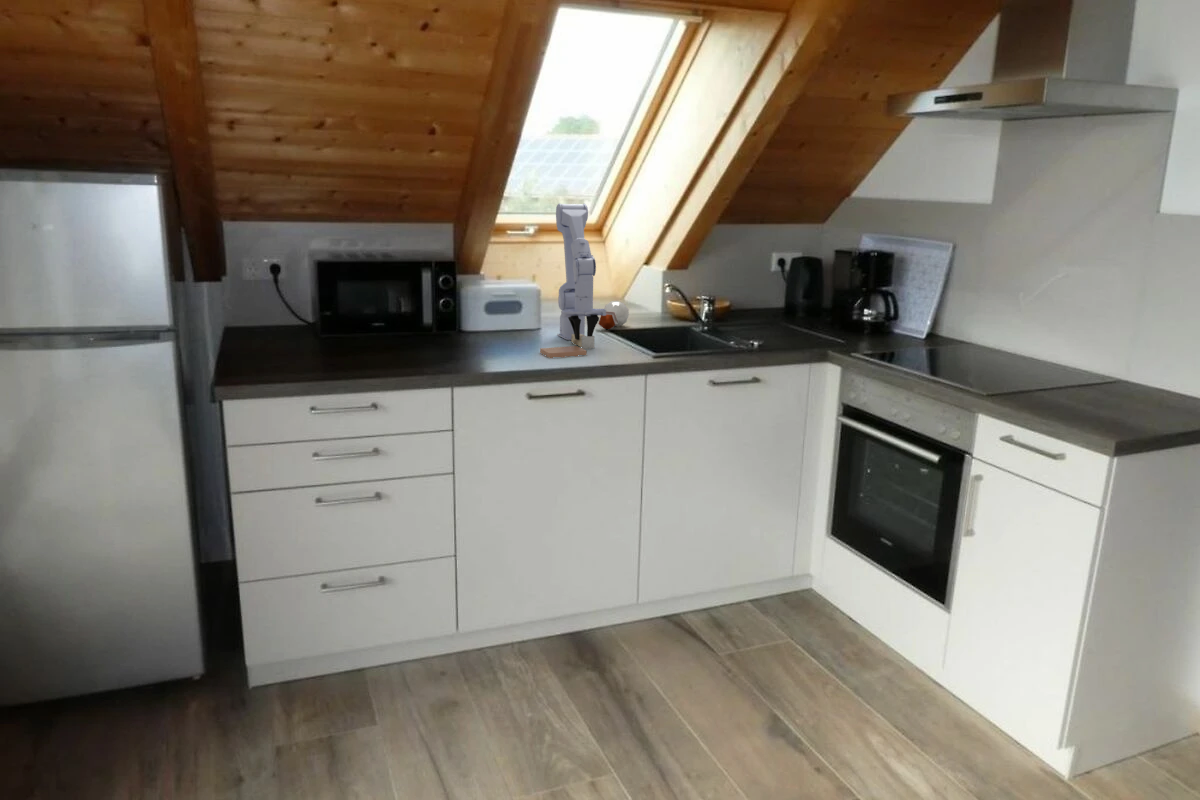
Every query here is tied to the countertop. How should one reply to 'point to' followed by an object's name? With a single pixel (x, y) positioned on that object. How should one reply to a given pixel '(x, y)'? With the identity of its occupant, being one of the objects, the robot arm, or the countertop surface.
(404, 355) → the countertop surface
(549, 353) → the tile
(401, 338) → the countertop surface
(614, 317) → the potion bottle
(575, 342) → the capped square post
